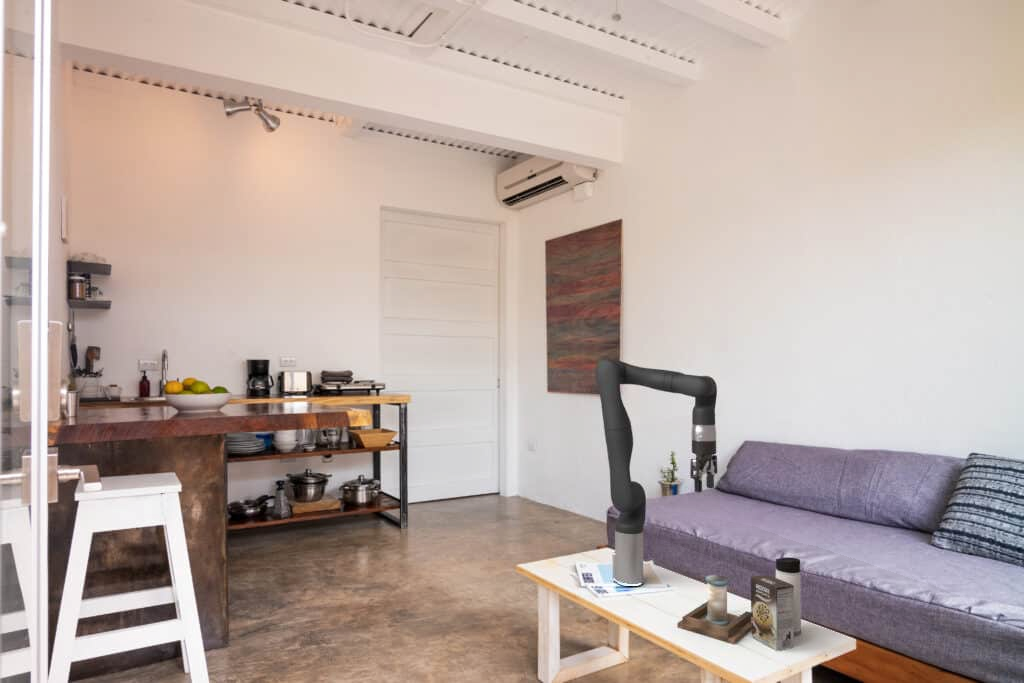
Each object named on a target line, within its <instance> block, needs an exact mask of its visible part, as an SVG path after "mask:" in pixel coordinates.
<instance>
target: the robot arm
mask: <svg viewBox="0 0 1024 683" xmlns="http://www.w3.org/2000/svg"><path fill="white" fill-rule="evenodd" d="M594 377H595V380H596V385H597V388H598V394H599V399H600V403H601V413H602V415H601V416H602V421H603V431H604V438H605V444H606V452H607V453H606V454H607V460H608V467H609V482H610V483H609V486H610V487H609V488H610V489H609V490H610V491H609V492H610V499H611V502H612V505H613V507H614V509H616V510H617V511H618V512H619V515H618V517H617V519H616V521H615V523H614V542H615V543H614V546H615V547H614V549H615V550H614V552H613V553H612V579H613V578H615V579H616V580H617V581H620V582H622V583H627V584H638V583H642V582H643V583H644V525H645V522H646V509H647V503H646V502H647V497H646V495H647V494H646V491H645V488H644V487H643V486H642V485H641V484H640V482H637V481H636V480H635V481H634V480H632V477H631V470H630V468H631V458H632V456H633V450H634V435H633V428H632V422H631V420H630V416H629V414H628V412H627V409H626V407H625V405H624V402H623V399H622V395H621V392H622V391H621V385H636V386H642V387H646V388H650V389H652V390H656V391H660V392H665V393H666V392H667V393H670V394H671V393H672V394H680V395H683V396H688V397H692V398H694V406H693V408H692V413H691V414H692V415H691V416H692V418H691V420H692V421H691V422H692V425H691V426H692V427H691V453H692V454H693V455H695V458H691V459H690V470H689V471H690V479H693V480H694V482H693V483H694V485H693V486H694V487H693V488H694V492H696V493H702V492H703V476H704V475H706V481H705V482H706V484H705V485H706V488H708V489H714V488H715V476H716V474H718V456H717V455H716V454H717V428H716V403H717V396H718V386H717V383H716V381H715V379H714V378H713V377H711V376H708V375H694V374H685V373H683V372H680V371H674V370H669V369H660V368H659V369H658V368H649V367H642V366H637V365H633V364H630V363H627V362H624V361H621V360H619V359H616V358H610V357H609V358H602V359H600V360H599V361H598V362H597V363H596V366H595V368H594Z"/></svg>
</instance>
